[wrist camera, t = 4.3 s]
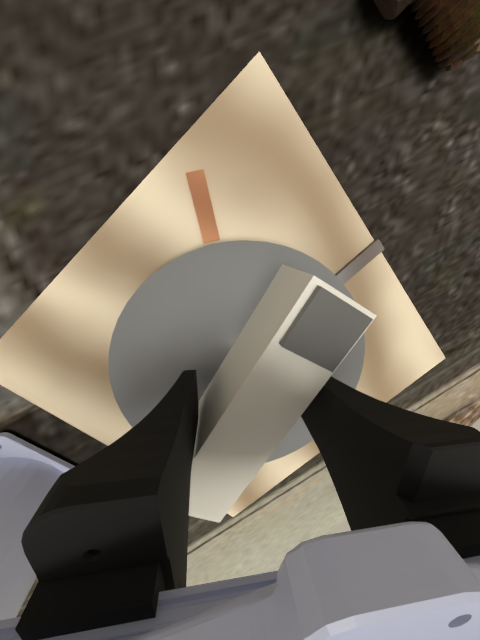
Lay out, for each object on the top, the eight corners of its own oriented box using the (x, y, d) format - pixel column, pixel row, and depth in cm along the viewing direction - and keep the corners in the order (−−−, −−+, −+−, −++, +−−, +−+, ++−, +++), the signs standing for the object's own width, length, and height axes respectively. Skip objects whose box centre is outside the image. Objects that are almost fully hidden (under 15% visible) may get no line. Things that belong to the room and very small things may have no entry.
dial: (275, 475, 17) (299, 560, 13) (78, 414, 13) (11, 504, 9) (399, 318, 14) (490, 357, 9) (186, 178, 10) (168, 129, 6)
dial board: (231, 491, 20) (233, 520, 18) (5, 351, 14) (-32, 371, 12) (421, 344, 18) (450, 358, 16) (252, 81, 11) (262, 44, 9)
